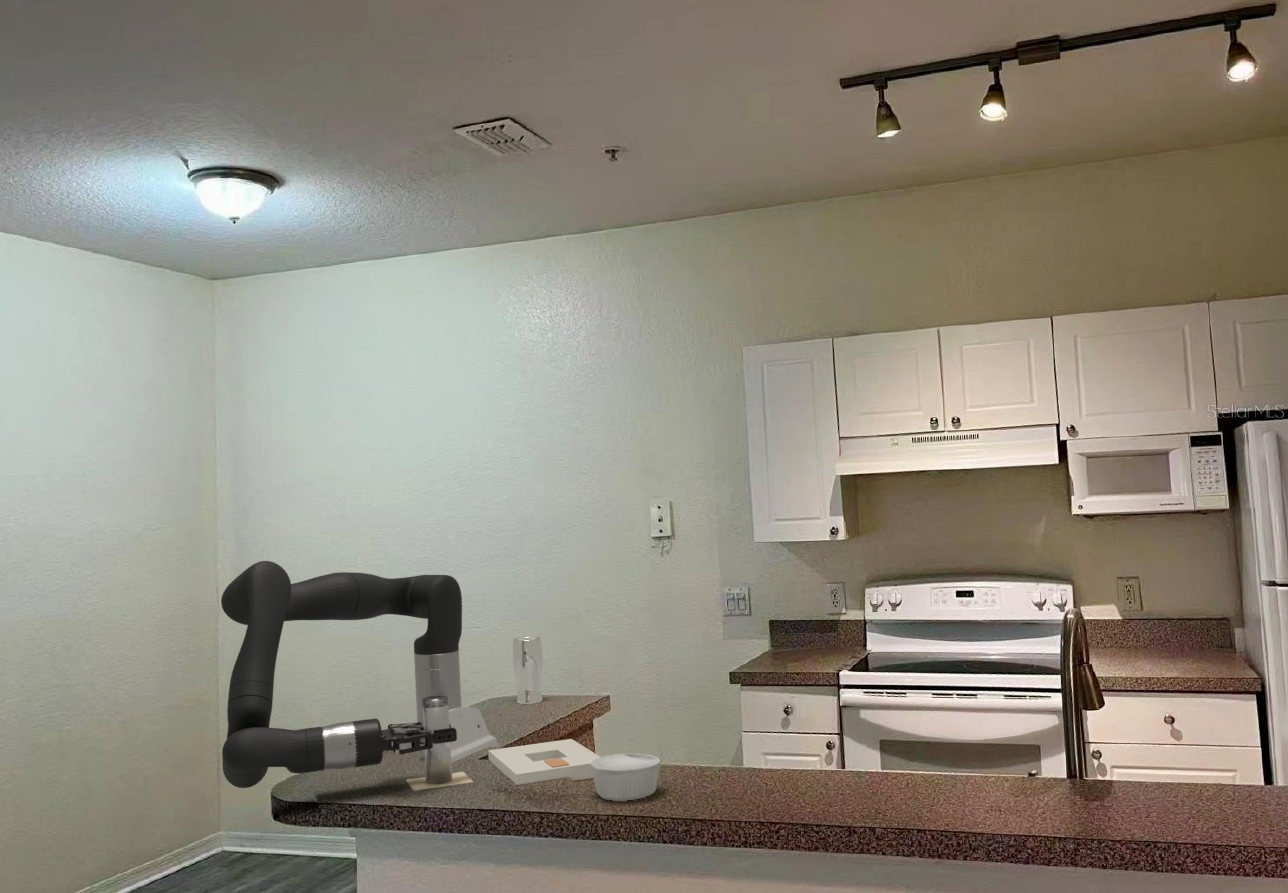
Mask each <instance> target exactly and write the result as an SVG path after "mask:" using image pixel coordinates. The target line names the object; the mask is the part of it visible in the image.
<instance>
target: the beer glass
mask: <svg viewBox="0 0 1288 893" xmlns="http://www.w3.org/2000/svg"><path fill="white" fill-rule="evenodd" d="M512 660H513V661H512V662H513V667H514V669H513V670H514V673H515V678H516V682H517V696H516V697H517V698H516V703H517V704H519V705H533V704H534V705H535V704H539V703H541V702H543V695H542V690H541V678H542V671H543V670H542V669H543V668H542V667H543V647H542V641H541V637H539V636H522V637H516V638H513V640H512Z"/></svg>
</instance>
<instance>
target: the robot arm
mask: <svg viewBox="0 0 1288 893" xmlns="http://www.w3.org/2000/svg"><path fill="white" fill-rule="evenodd" d="M220 602H221V608H222V610H223V612H224V613H225V615H226V616H227V617H228V618H229V619H230V620H232V621H234V622H236V623H238V624H241V625H245V626H246V631H245V635H244V638H243V639H242V640H243V641H242V644H241V645H240V649H239V650H238V651H239V652H238V654H237V658H236V660H235V662H234V665H233V668H232V672H231V677H230V680H229V688H228V697H227V709H226V710H227V711H226V714H227V717H226V718H227V735H226V740H225V741H224V743H223V746H222V750H221V755H222V756H221V757H222V772H223V775H224V777H225V779H226V781H227V782H229V784H230V785H232V786H234V787H236V788H240V789H246V788H251V787H254V786H256V785H258V783H260V782H261V781H262V780H263V779H264V778H265V776H266V775H267V772H268V770H269V768H286V769H287V771H288V772H290V773H292V774H306V773H313V772H314V773H315V772H321V771H338V770H340V771H341V770H347V769H354V768H362V767H368V766H369V767H370V766H376V765H380V764H381V763H382V761H383V753H384V752H385V751H387V752H390V751H392V753H393V754H399V755H405V754H410V753H416V752H420V751H424V750H426V749H431V748H433V746H434V745H435V744H439V743H446V742H454V741H456V740H457V730H456V729H455V728H451V725H450V723H449V727H450V728H446V729H439V730H425V731H423V712H422V699H423V698H426V697H430V696H448V707H449V710H450V709H454V708H460V707H462V689H461V687H462V686H461V671H460V670H461V668H460V667H461V665H460V650H459V648H460V647H459V646H460V640H461V637H462V630H463V628H462V626H463V597H462V591H461V587H460V585H459V582H458V581H457V579H456V578H455V577H453V576H452V575H448V574H420V575H414V576H406V577H396V578H389V577H387V578H386V577H382V576H380V575H379V576H378V575H377V574H372V573H363V572H346V571H345V572H341V571H340V572H333V573H331V572H330V573H328V574H324V575H319V576H315V577H312V578H309V579H305V580H301V581H298V582H294V583H291V578H290V576H289V575H288V572H287V571H286V570H285V569H284V568H283V567H282V566H281V565H279V563H276V562H274V561H270V560H262V561H258V562H255V563H253V564H252V565H249V567H248V568H246V569H245V570H243V572H241V573H240V574H239V575H237V576H236V577H235V578H234V579H233V580H231V582H230V583H229V584H228V585H227V586H226V588H225V589H224V591H223V593H222V595H221V600H220ZM385 615H395V616H406V617H412V618H417V619H425V620H427V628H426V631H425V633H424V634H423V635H421V636H419V637H417V638H416V639H415V640H414V642H413V655H414V656H413V657H414V658H413V659H414V677H415V678H414V681H415V699H416V700H415V702H416V722H409V723H407V722H406V723H390V724H388V725H387V728H386V729H385V728H384V729H382V725H381V721H380V720H379V719H378V718H368V719H360V720H350V721H345V722H335V723H332V724H329V725H323V726H315V727H308V728H307V727H306V728H300V729H289V728H288V729H286V728H281V727H277V728H276V727H270V722H271V717H272V711H273V703H274V702H273V701H274V686H275V684H274V683H275V671H276V666H277V665H276V664H277V657H278V652H279V646H280V641H281V636H282V632H283V626H284V622H293V621H362V620H368V619H375V618H377V617H380V616H385ZM424 738H425V742H424Z"/></svg>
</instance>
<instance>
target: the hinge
mask: <svg viewBox="0 0 1288 893" xmlns="http://www.w3.org/2000/svg"><path fill="white" fill-rule="evenodd" d="M449 723H450V725H451V728H455V729H456V730H457V740H456V741H454V742H450V746H451V764H452V763H454V762H456V761H458V760H461V759H464V758H467V757H468V756H470V755H472V754H475V753H477V752H479V751H481V750H484V749H489V748H496V747H500V744H499V743H498V739H497V737H495V736H494V735H491V733H490V731H489V729H488V727H487V724H486V722H485V720H484V717H483V715H482V712H481V710H480V709H479V708H478V707H472V706H461V707H460V708H454V709H450V710H449Z"/></svg>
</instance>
